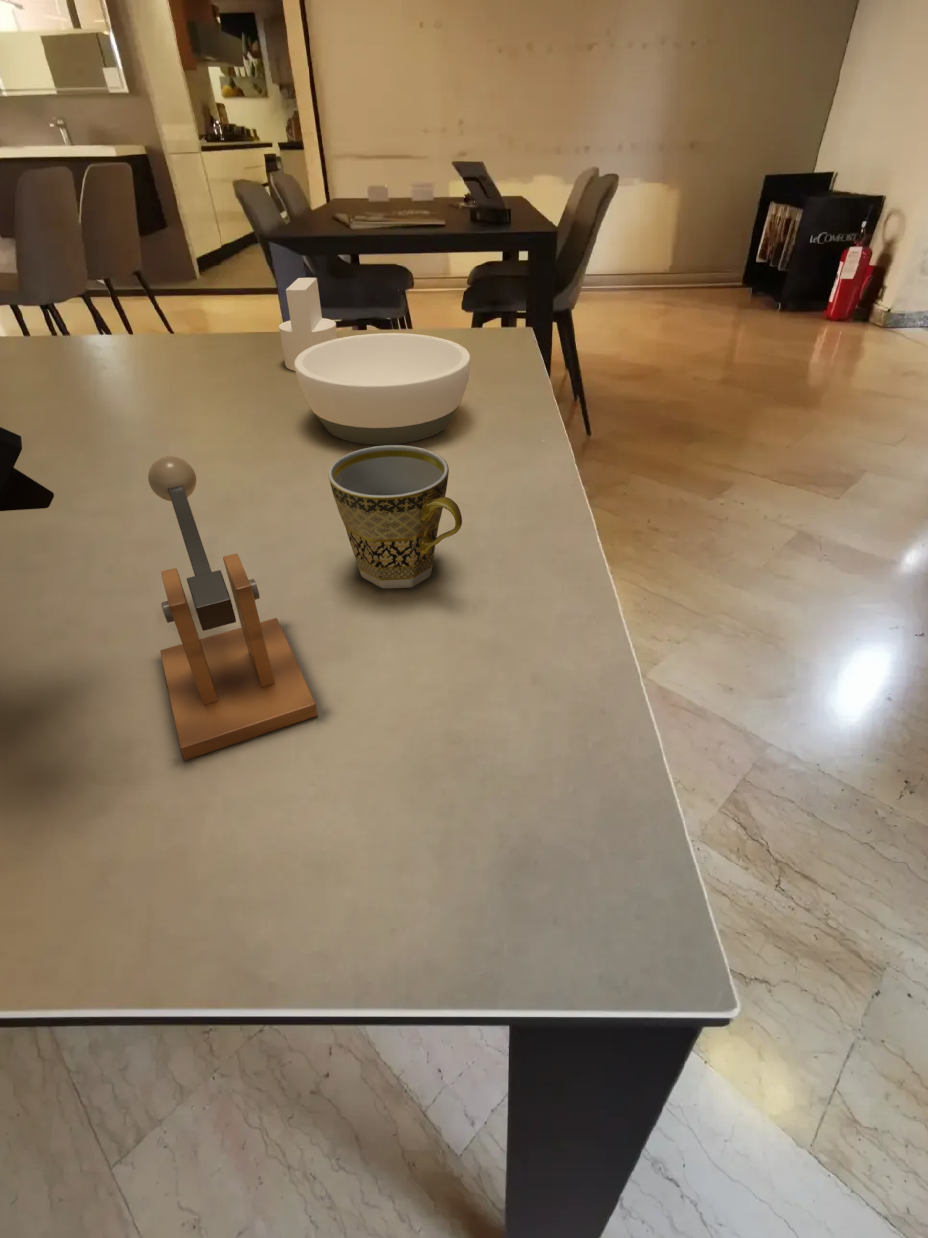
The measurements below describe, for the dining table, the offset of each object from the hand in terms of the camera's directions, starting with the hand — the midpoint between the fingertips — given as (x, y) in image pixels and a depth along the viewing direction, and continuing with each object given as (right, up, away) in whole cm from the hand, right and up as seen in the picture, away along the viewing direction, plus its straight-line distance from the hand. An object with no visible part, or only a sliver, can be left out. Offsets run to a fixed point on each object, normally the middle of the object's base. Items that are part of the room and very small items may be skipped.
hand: (46, 498), depth 44 cm
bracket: (+11, -13, +5) cm, 18 cm away
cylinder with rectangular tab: (+3, +34, +66) cm, 75 cm away
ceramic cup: (+23, -4, +17) cm, 29 cm away
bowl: (+17, +19, +47) cm, 53 cm away
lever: (+8, -3, +5) cm, 10 cm away
